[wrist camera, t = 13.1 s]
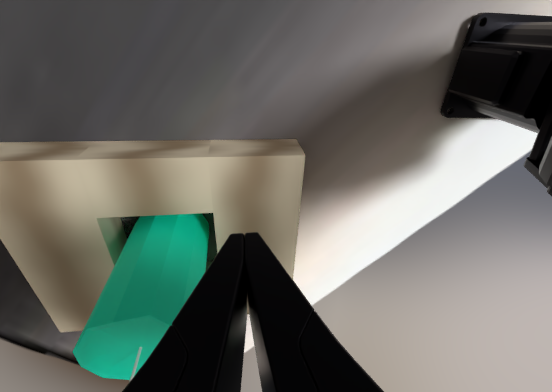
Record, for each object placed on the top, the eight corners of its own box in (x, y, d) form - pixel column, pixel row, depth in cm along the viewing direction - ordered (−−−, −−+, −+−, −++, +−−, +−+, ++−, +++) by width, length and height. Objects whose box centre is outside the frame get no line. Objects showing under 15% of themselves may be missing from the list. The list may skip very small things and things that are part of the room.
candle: (225, 231, 24) (219, 381, 14) (176, 266, 25) (140, 426, 15) (170, 186, 21) (113, 336, 11) (119, 229, 22) (26, 397, 12)
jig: (296, 139, 20) (305, 155, 18) (284, 285, 29) (289, 310, 26) (-9, 142, 18) (-50, 162, 15) (77, 302, 26) (60, 332, 23)
